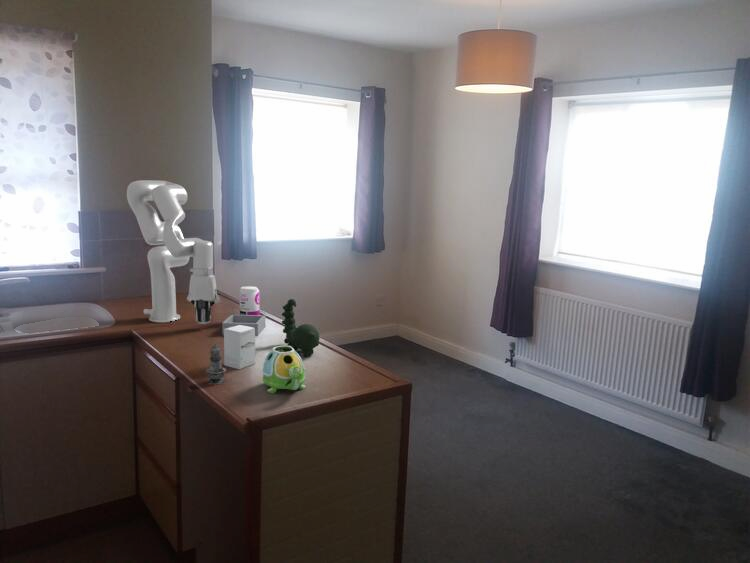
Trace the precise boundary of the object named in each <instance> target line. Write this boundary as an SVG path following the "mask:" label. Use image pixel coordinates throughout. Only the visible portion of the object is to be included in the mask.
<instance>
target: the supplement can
mask: <svg viewBox="0 0 750 563" xmlns="http://www.w3.org/2000/svg"><path fill="white" fill-rule="evenodd" d="M239 315H260V289H259V288H258V287H257V286H254V285H246V286H241V287H240V289H239Z"/></svg>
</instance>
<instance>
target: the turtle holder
mask: <svg viewBox="0 0 750 563" xmlns="http://www.w3.org/2000/svg"><path fill="white" fill-rule="evenodd" d="M278 350H282V351H281V352H280V351H278ZM305 370H306V369H305V366H304V362H303V360H302V357H301V356H300V355H299V353H298V352H297V350H296V351H294V349H293V348H292V347H291V346H287V345H278V346H274V347H272V349H271V350H270V351H269V352H268V353H267V355H266V357H265V359H264V362H263V366H262V375H263V376H262V381H263V383H264V384H265V385H266V386H268V387H270V388H268V389H267V392H268V393H269V394H276V393H277V390H290V391H295V390H304V389H305V388H306V385H305V384H303V383H304V382H305V379H306V377H305Z"/></svg>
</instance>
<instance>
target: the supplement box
mask: <svg viewBox="0 0 750 563" xmlns="http://www.w3.org/2000/svg"><path fill="white" fill-rule="evenodd" d="M223 352H224V354H223V356H224V357H223V359H224V361H223V362H224V364H223V365H224V366H225V367H230V368H233V369H237V370H241V369H244V368H247V367H249V366H253V365H255V364H256V336H255V328H253V327H248V326H243V325H237V326H234V327H230V328H226V329H224V335H223Z"/></svg>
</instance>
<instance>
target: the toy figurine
mask: <svg viewBox="0 0 750 563" xmlns="http://www.w3.org/2000/svg"><path fill="white" fill-rule="evenodd" d="M296 307H297V301H296V300H295V299H294V298H290V299H289V300H287V302H286V303H285V305H283V306H282V309H283V310H284V311H283V312H282V313H281V316H282V317H284V320H282V321H281V324H282V325H284V328H283V329H282V333H283V334H285V338H284V340H283V342H284V344H286V346H291V347H292V348H293V349H294V351H296V352H297V351H298V350H300V351H301V354H302V356H304V357H310V356H313V354H314V349H315V348H316V347H319V345H320V339H321V338H320V333H319V331H318V329H317V328H316V327H315V326H314V325H312V324H309V323H303V324H300V325H298V326H297V325H296V319H295V311H294V308H296Z"/></svg>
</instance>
